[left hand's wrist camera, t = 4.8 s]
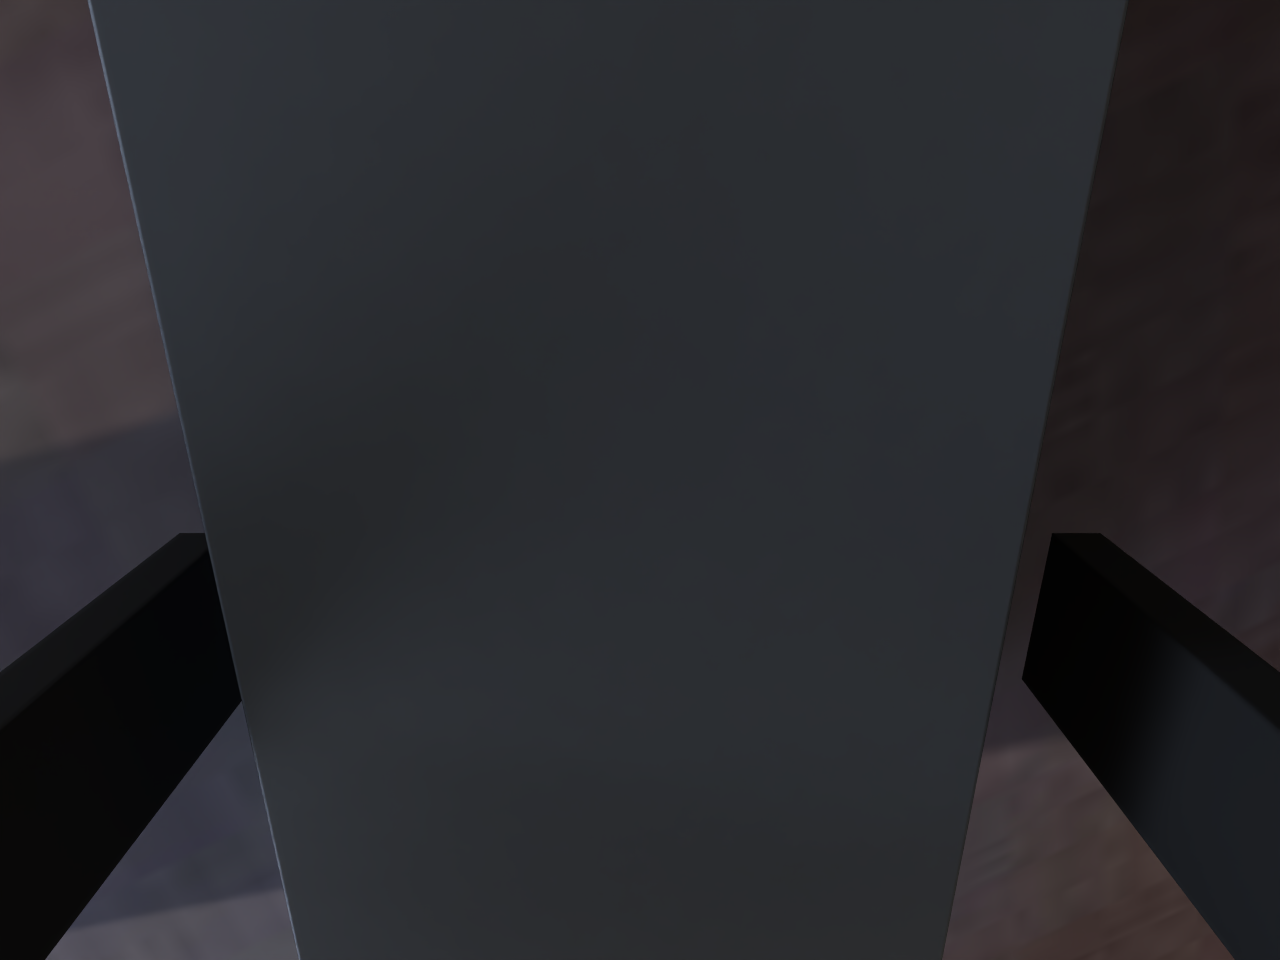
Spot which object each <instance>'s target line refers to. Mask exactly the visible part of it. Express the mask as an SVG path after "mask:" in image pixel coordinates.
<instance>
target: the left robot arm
mask: <svg viewBox="0 0 1280 960" xmlns="http://www.w3.org/2000/svg"><path fill="white" fill-rule="evenodd" d="M1022 680H1023V681H1024V682H1025V684H1026V685H1027V686H1028V688H1029V689H1030V690H1031V692H1032V693H1033V694H1034V696H1035V697H1036V698H1037V700H1038V701H1039V702H1040V704H1041V705H1042V706H1043V707H1044V709H1045V710H1046V711H1047V713H1048V714H1049V715H1050V717H1051V718H1052V719H1053V721H1054V722H1055V723H1056V725H1057V726H1058V727H1059V729H1060V730H1061V731H1062V733H1063V734H1064V735H1065V736H1066V738H1067V739H1068V740H1069V742H1070V743H1071V744H1072V746H1073V747H1074V748H1075V750H1076V751H1077V752H1078V754H1079V755H1080V756H1081V758H1082V759H1083V760H1084V761H1085V763H1086V764H1087V765H1088V767H1089V768H1090V769H1091V771H1092V772H1093V773H1094V775H1095V776H1096V777H1097V779H1098V780H1099V781H1100V783H1101V784H1102V785H1103V786H1104V788H1105V789H1106V790H1107V792H1108V793H1109V794H1110V796H1111V797H1112V798H1113V800H1114V801H1115V802H1116V804H1117V805H1118V806H1119V808H1120V809H1121V810H1122V811H1123V813H1124V814H1125V815H1126V817H1127V818H1128V819H1129V821H1130V822H1131V823H1132V825H1133V826H1134V827H1135V829H1136V830H1137V831H1138V833H1139V834H1140V835H1141V836H1142V838H1143V839H1144V840H1145V842H1146V843H1147V844H1148V846H1149V847H1150V848H1151V850H1152V851H1153V852H1154V854H1155V855H1156V856H1157V858H1158V859H1159V860H1160V862H1161V863H1162V864H1163V865H1164V867H1165V868H1166V869H1167V871H1168V872H1169V873H1170V875H1171V876H1172V877H1173V879H1174V880H1175V881H1176V883H1177V884H1178V885H1179V887H1180V888H1181V889H1182V890H1183V892H1184V893H1185V894H1186V896H1187V897H1188V898H1189V900H1190V901H1191V902H1192V904H1193V905H1194V906H1195V908H1196V909H1197V910H1198V912H1199V913H1200V914H1201V915H1202V917H1203V918H1204V919H1205V921H1206V922H1207V923H1208V925H1209V926H1210V927H1211V929H1212V930H1213V931H1214V933H1215V934H1216V935H1217V937H1218V938H1219V939H1220V940H1221V942H1222V943H1223V944H1224V946H1225V947H1226V948H1227V950H1228V951H1229V952H1230V954H1231V955H1232V956H1233V958H1234V959H1235V960H1280V672H1279V671H1277V670H1276V669H1275V668H1273V667H1272V666H1271V665H1270V664H1268V663H1267V662H1266V661H1264V660H1263V659H1262V658H1261V657H1259V656H1258V655H1257V654H1255V653H1254V652H1253V651H1251V650H1250V649H1249V648H1248V647H1246V646H1245V645H1244V644H1242V643H1241V642H1240V641H1239V640H1237V639H1236V638H1235V637H1233V636H1232V635H1231V634H1230V633H1228V632H1227V631H1226V630H1224V629H1223V628H1222V627H1221V626H1219V625H1218V624H1217V623H1215V622H1214V621H1213V620H1212V619H1210V618H1209V617H1208V616H1206V615H1205V614H1204V613H1202V612H1201V611H1200V610H1199V609H1197V608H1196V607H1195V606H1193V605H1192V604H1191V603H1190V602H1188V601H1187V600H1186V599H1184V598H1183V597H1182V596H1181V595H1179V594H1178V593H1177V592H1175V591H1174V590H1173V589H1172V588H1170V587H1169V586H1168V585H1166V584H1165V583H1164V582H1163V581H1161V580H1160V579H1159V578H1157V577H1156V576H1155V575H1153V574H1152V573H1151V572H1150V571H1148V570H1147V569H1146V568H1144V567H1143V566H1142V565H1141V564H1139V563H1138V562H1137V561H1135V560H1134V559H1133V558H1132V557H1130V556H1129V555H1128V554H1126V553H1125V552H1124V551H1123V550H1121V549H1120V548H1119V547H1117V546H1116V545H1115V544H1114V543H1112V542H1111V541H1110V540H1108V539H1107V538H1106V537H1104V536H1103V535H1102V534H1101V533H1052V537H1051V542H1050V546H1049V551H1048V556H1047V561H1046V566H1045V570H1044V575H1043V580H1042V585H1041V589H1040V594H1039V599H1038V604H1037V609H1036V613H1035V618H1034V623H1033V628H1032V633H1031V637H1030V642H1029V647H1028V652H1027V657H1026V661H1025V666H1024V671H1023V676H1022ZM241 701H242V699H241V694H240V690H239V685H238V681H237V676H236V672H235V667H234V663H233V658H232V654H231V649H230V644H229V640H228V635H227V631H226V626H225V622H224V617H223V613H222V608H221V604H220V599H219V595H218V590H217V585H216V581H215V576H214V572H213V567H212V563H211V558H210V554H209V549H208V545H207V540H206V536H205V533H179V534H178V535H177V536H176V537H174V538H173V539H172V540H170V541H169V542H168V543H166V544H165V545H164V546H163V547H161V548H160V549H159V550H157V551H156V552H155V553H154V554H152V555H151V556H150V557H148V558H147V559H146V560H145V561H143V562H142V563H141V564H139V565H138V566H137V567H136V568H134V569H133V570H132V571H130V572H129V573H128V574H127V575H125V576H124V577H123V578H121V579H120V580H119V581H117V582H116V583H115V584H114V585H112V586H111V587H110V588H108V589H107V590H106V591H105V592H103V593H102V594H101V595H99V596H98V597H97V598H96V599H94V600H93V601H92V602H90V603H89V604H88V605H87V606H85V607H84V608H83V609H81V610H80V611H79V612H78V613H76V614H75V615H74V616H72V617H71V618H70V619H68V620H67V621H66V622H65V623H63V624H62V625H61V626H59V627H58V628H57V629H56V630H54V631H53V632H52V633H50V634H49V635H48V636H47V637H45V638H44V639H43V640H41V641H40V642H39V643H38V644H36V645H35V646H34V647H32V648H31V649H30V650H29V651H27V652H26V653H25V654H23V655H22V656H21V657H19V658H18V659H17V660H16V661H14V662H13V663H12V664H10V665H9V666H8V667H7V668H5V669H4V670H3V671H1V672H0V960H45V959H46V958H47V956H48V955H49V954H50V952H51V951H52V950H53V948H54V947H55V946H56V944H57V943H58V942H59V940H60V939H61V938H62V937H63V935H64V934H65V933H66V931H67V930H68V929H69V927H70V926H71V925H72V923H73V922H74V921H75V919H76V918H77V917H78V915H79V914H80V913H81V912H82V910H83V909H84V908H85V906H86V905H87V904H88V902H89V901H90V900H91V898H92V897H93V896H94V894H95V893H96V892H97V890H98V889H99V888H100V887H101V885H102V884H103V883H104V881H105V880H106V879H107V877H108V876H109V875H110V873H111V872H112V871H113V869H114V868H115V867H116V865H117V864H118V863H119V862H120V860H121V859H122V858H123V856H124V855H125V854H126V852H127V851H128V850H129V848H130V847H131V846H132V844H133V843H134V842H135V840H136V839H137V838H138V836H139V835H140V834H141V833H142V831H143V830H144V829H145V827H146V826H147V825H148V823H149V822H150V821H151V819H152V818H153V817H154V815H155V814H156V813H157V811H158V810H159V809H160V808H161V806H162V805H163V804H164V802H165V801H166V800H167V798H168V797H169V796H170V794H171V793H172V792H173V790H174V789H175V788H176V786H177V785H178V784H179V783H180V781H181V780H182V779H183V777H184V776H185V775H186V773H187V772H188V771H189V769H190V768H191V767H192V765H193V764H194V763H195V761H196V760H197V759H198V758H199V756H200V755H201V754H202V752H203V751H204V750H205V748H206V747H207V746H208V744H209V743H210V742H211V740H212V739H213V738H214V736H215V735H216V734H217V733H218V731H219V730H220V729H221V727H222V726H223V725H224V723H225V722H226V721H227V719H228V718H229V717H230V715H231V714H232V713H233V711H234V710H235V709H236V707H237V706H238V705H239V704H240V702H241Z"/></svg>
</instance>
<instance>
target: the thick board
mask: <svg viewBox="0 0 1280 960" xmlns="http://www.w3.org/2000/svg"><path fill="white" fill-rule="evenodd" d="M1128 2H1129V0H88V4H89V9H90V13H91V18H92V22H93V27H94V32H95V36H96V41H97V45H98V50H99V54H100V59H101V63H102V68H103V72H104V77H105V82H106V86H107V91H108V95H109V100H110V104H111V109H112V113H113V118H114V122H115V127H116V131H117V136H118V141H119V145H120V150H121V154H122V159H123V163H124V168H125V172H126V177H127V181H128V186H129V190H130V195H131V200H132V204H133V209H134V213H135V218H136V222H137V227H138V231H139V236H140V240H141V245H142V249H143V254H144V259H145V263H146V268H147V272H148V277H149V281H150V286H151V290H152V295H153V299H154V304H155V309H156V313H157V318H158V322H159V327H160V331H161V336H162V340H163V345H164V349H165V354H166V358H167V363H168V368H169V372H170V377H171V381H172V386H173V390H174V395H175V399H176V404H177V408H178V413H179V417H180V422H181V427H182V431H183V436H184V440H185V445H186V449H187V454H188V458H189V463H190V467H191V472H192V476H193V481H194V486H195V490H196V495H197V499H198V504H199V508H200V513H201V517H202V522H203V526H204V531H205V536H206V540H207V545H208V549H209V554H210V558H211V563H212V567H213V572H214V576H215V581H216V585H217V590H218V595H219V599H220V604H221V608H222V613H223V617H224V622H225V626H226V631H227V635H228V640H229V644H230V649H231V654H232V658H233V663H234V667H235V672H236V676H237V681H238V685H239V690H240V694H241V699H242V703H243V708H244V713H245V717H246V722H247V726H248V731H249V735H250V740H251V744H252V749H253V753H254V758H255V762H256V767H257V772H258V776H259V781H260V785H261V790H262V794H263V799H264V803H265V808H266V812H267V817H268V822H269V826H270V831H271V835H272V840H273V844H274V849H275V853H276V858H277V862H278V867H279V871H280V876H281V881H282V885H283V890H284V894H285V899H286V903H287V908H288V912H289V917H290V921H291V926H292V930H293V935H294V940H295V944H296V949H297V953H298V958H299V960H942V957H943V952H944V946H945V941H946V936H947V931H948V926H949V921H950V916H951V910H952V905H953V900H954V895H955V890H956V885H957V880H958V875H959V869H960V864H961V859H962V854H963V849H964V844H965V839H966V834H967V828H968V823H969V818H970V813H971V808H972V803H973V798H974V792H975V787H976V782H977V777H978V772H979V767H980V762H981V757H982V751H983V746H984V741H985V736H986V731H987V726H988V721H989V716H990V710H991V705H992V700H993V695H994V690H995V685H996V680H997V674H998V669H999V664H1000V659H1001V654H1002V649H1003V644H1004V639H1005V633H1006V628H1007V623H1008V618H1009V613H1010V608H1011V603H1012V597H1013V592H1014V587H1015V582H1016V577H1017V572H1018V567H1019V562H1020V556H1021V551H1022V546H1023V541H1024V536H1025V531H1026V526H1027V521H1028V515H1029V510H1030V505H1031V500H1032V495H1033V490H1034V485H1035V479H1036V474H1037V469H1038V464H1039V459H1040V454H1041V449H1042V444H1043V438H1044V433H1045V428H1046V423H1047V418H1048V413H1049V408H1050V403H1051V397H1052V392H1053V387H1054V382H1055V377H1056V372H1057V367H1058V361H1059V356H1060V351H1061V346H1062V341H1063V336H1064V331H1065V326H1066V320H1067V315H1068V310H1069V305H1070V300H1071V295H1072V290H1073V284H1074V279H1075V274H1076V269H1077V264H1078V259H1079V254H1080V249H1081V243H1082V238H1083V233H1084V228H1085V223H1086V218H1087V213H1088V208H1089V202H1090V197H1091V192H1092V187H1093V182H1094V177H1095V172H1096V166H1097V161H1098V156H1099V151H1100V146H1101V141H1102V136H1103V131H1104V125H1105V120H1106V115H1107V110H1108V105H1109V100H1110V95H1111V90H1112V84H1113V79H1114V74H1115V69H1116V64H1117V59H1118V54H1119V48H1120V43H1121V38H1122V33H1123V28H1124V23H1125V18H1126V13H1127V7H1128Z"/></svg>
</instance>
